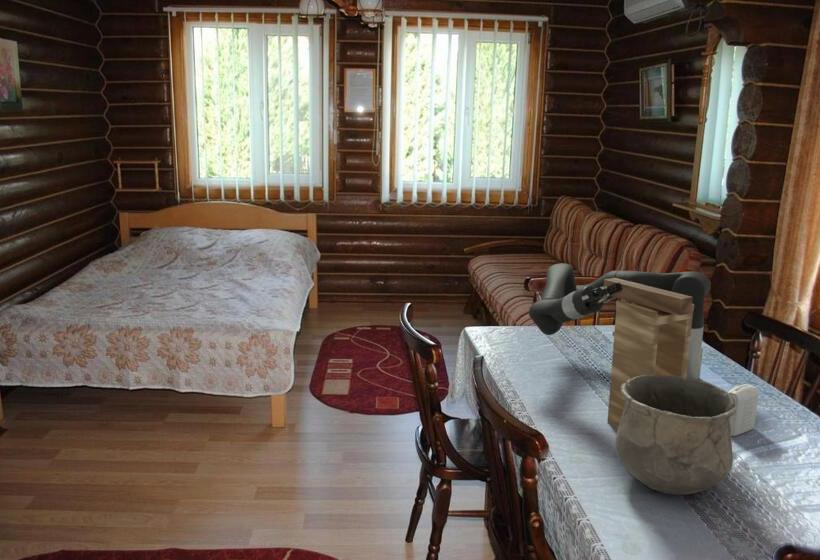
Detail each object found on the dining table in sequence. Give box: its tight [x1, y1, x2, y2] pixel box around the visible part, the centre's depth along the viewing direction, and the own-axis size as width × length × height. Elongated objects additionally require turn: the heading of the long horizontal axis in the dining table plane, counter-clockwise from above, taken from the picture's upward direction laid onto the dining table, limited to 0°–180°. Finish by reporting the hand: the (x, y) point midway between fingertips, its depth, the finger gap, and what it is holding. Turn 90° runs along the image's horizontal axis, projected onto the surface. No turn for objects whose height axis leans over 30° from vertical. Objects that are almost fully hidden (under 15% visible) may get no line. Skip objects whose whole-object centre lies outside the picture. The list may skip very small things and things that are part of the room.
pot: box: [615, 375, 737, 496], centre depth 150 cm, size 25×24×21 cm
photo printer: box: [727, 383, 760, 437], centre depth 177 cm, size 10×4×12 cm, turn 123°
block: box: [604, 278, 693, 316], centre depth 172 cm, size 4×24×4 cm, turn 31°
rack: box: [607, 299, 694, 429], centre depth 177 cm, size 14×12×34 cm
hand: (626, 285), depth 177 cm, fingers closed on block, 4 cm apart
